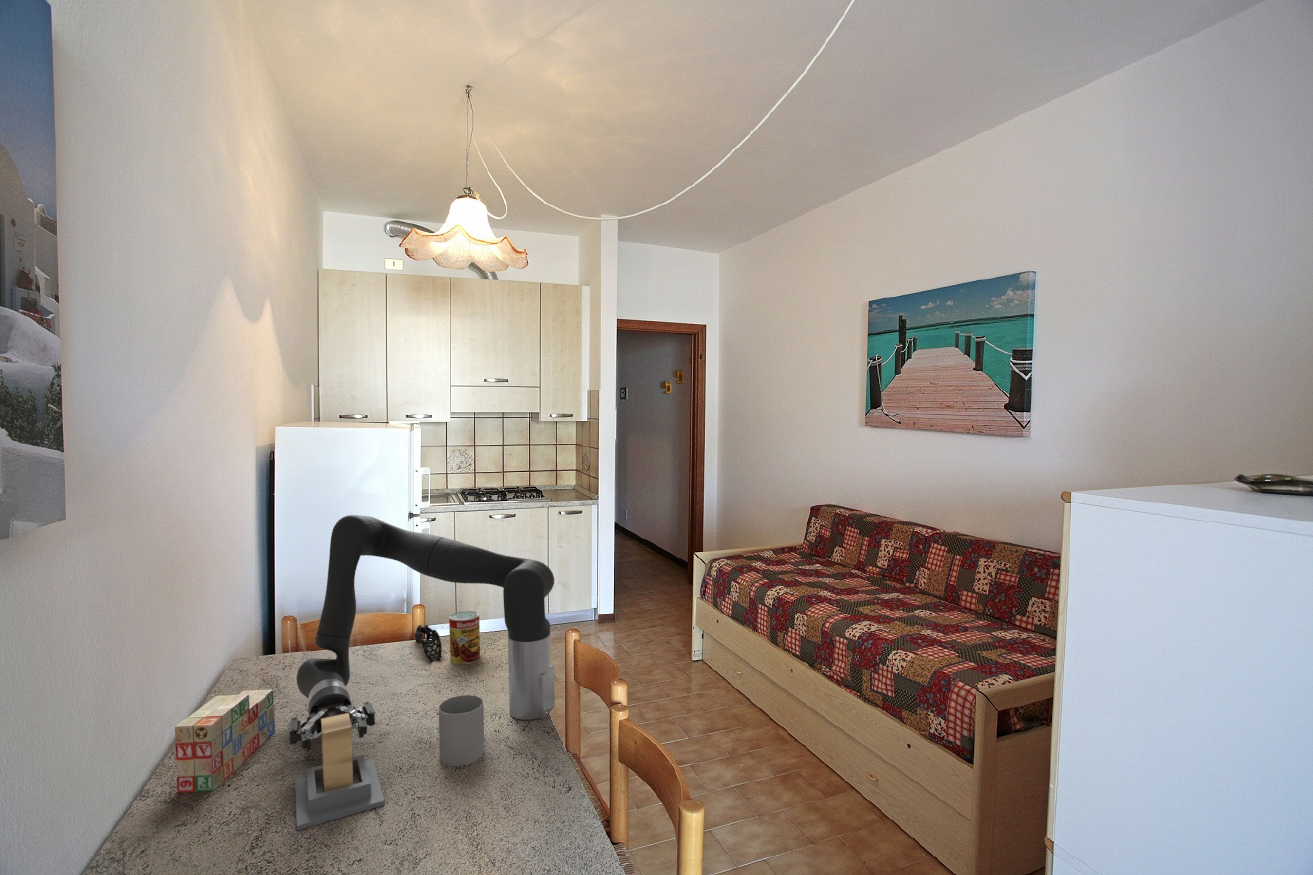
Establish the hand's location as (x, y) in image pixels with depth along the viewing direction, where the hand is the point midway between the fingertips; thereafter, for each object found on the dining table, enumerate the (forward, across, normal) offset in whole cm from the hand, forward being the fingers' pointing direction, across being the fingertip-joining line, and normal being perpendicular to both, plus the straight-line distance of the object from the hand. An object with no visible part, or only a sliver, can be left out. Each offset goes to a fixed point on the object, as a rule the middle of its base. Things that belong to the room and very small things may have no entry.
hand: (335, 738), depth 115 cm
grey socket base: (+3, 0, +8) cm, 9 cm away
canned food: (-48, +35, +9) cm, 60 cm away
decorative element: (-61, +28, +9) cm, 68 cm away
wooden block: (+3, 0, +8) cm, 8 cm away
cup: (+1, +22, +9) cm, 24 cm away
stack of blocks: (-20, -17, +9) cm, 28 cm away
